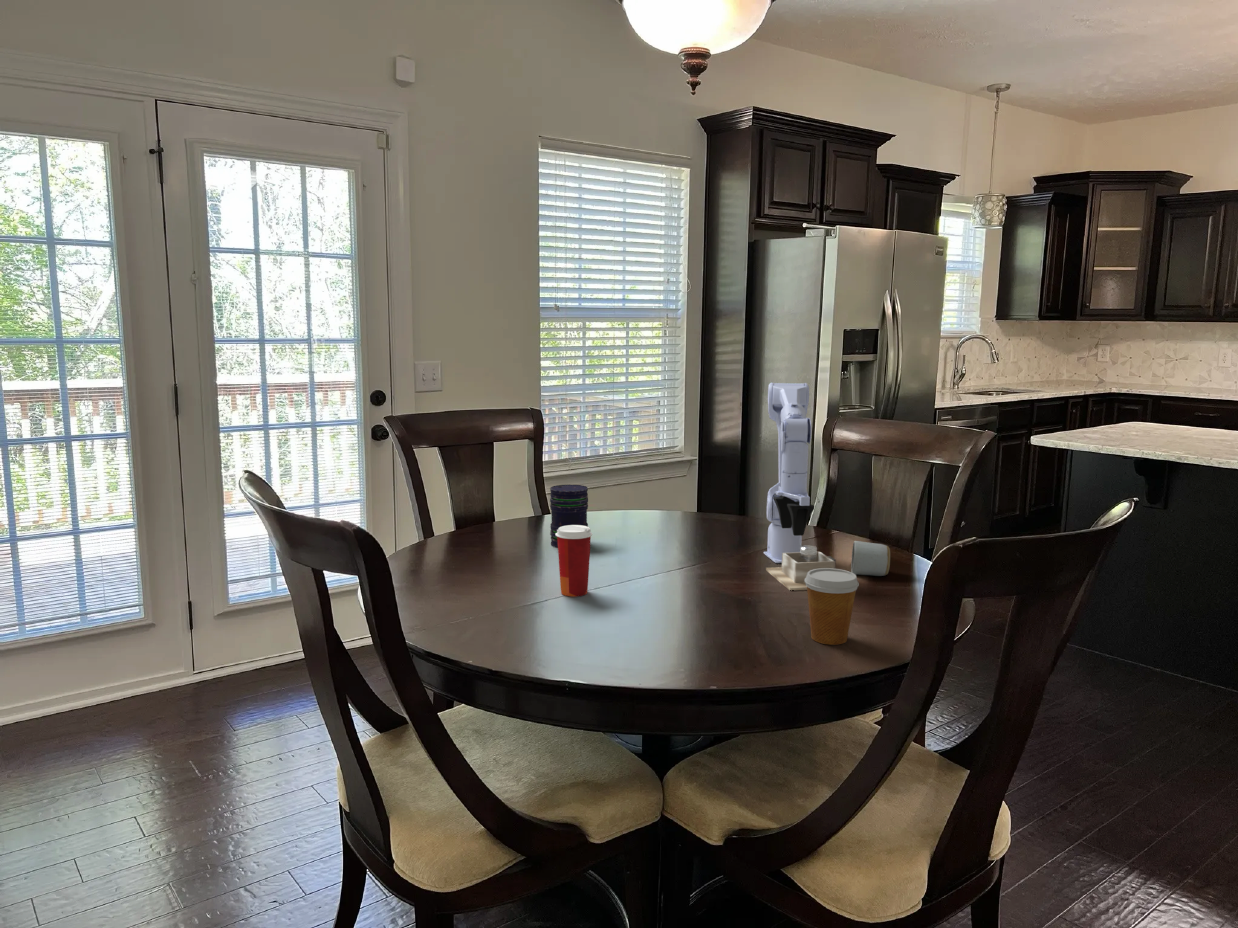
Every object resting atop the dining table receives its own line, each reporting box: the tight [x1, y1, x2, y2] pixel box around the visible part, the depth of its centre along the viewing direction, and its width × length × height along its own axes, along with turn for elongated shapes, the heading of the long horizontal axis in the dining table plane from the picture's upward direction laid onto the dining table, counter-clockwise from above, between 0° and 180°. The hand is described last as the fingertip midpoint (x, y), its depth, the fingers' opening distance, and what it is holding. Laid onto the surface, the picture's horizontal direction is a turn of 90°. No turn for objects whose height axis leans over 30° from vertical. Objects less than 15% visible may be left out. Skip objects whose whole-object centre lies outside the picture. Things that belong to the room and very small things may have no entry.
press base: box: [765, 551, 837, 591], centre depth 193 cm, size 16×14×5 cm
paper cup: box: [555, 525, 593, 598], centre depth 181 cm, size 8×8×14 cm
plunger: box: [800, 544, 818, 562], centre depth 193 cm, size 7×7×6 cm
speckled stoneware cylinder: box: [850, 540, 891, 577], centre depth 198 cm, size 11×8×8 cm
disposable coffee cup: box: [804, 568, 860, 646], centre depth 155 cm, size 10×10×12 cm
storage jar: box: [549, 484, 589, 549], centre depth 223 cm, size 10×10×15 cm
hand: (792, 531), depth 194 cm, fingers open, 7 cm apart
